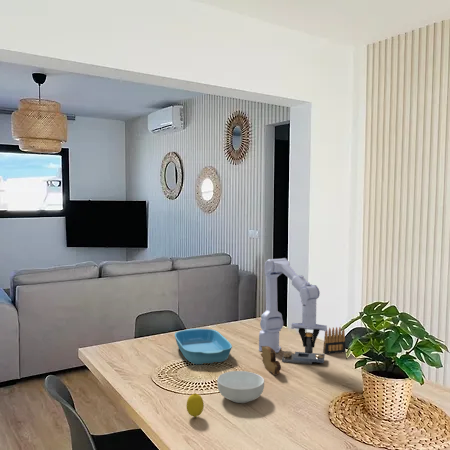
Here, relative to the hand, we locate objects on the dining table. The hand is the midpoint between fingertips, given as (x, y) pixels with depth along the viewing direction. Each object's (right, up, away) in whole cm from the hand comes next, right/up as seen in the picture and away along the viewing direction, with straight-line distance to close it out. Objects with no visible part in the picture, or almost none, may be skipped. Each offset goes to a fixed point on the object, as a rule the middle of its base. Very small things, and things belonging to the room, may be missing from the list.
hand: (308, 346), depth 189 cm
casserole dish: (-46, -9, +19) cm, 50 cm away
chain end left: (-3, -9, +10) cm, 14 cm away
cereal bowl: (-30, -11, -29) cm, 43 cm away
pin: (0, -2, 0) cm, 2 cm away
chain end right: (+2, -9, +9) cm, 13 cm away
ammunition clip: (+16, -9, +21) cm, 28 cm away
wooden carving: (-16, -10, -2) cm, 19 cm away
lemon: (-45, -12, -43) cm, 64 cm away
